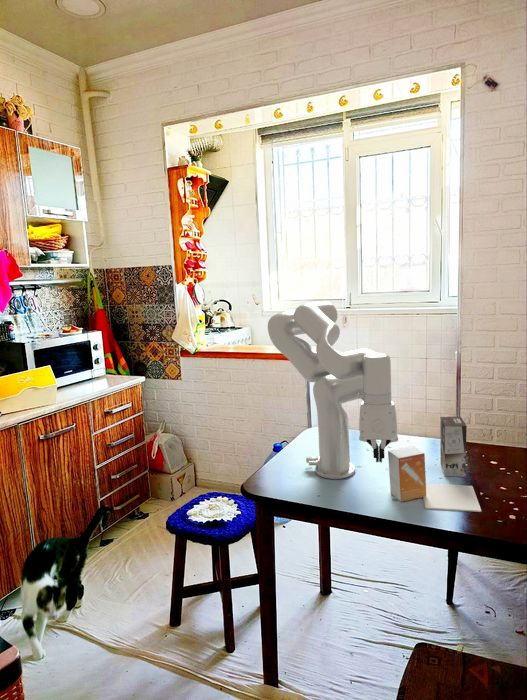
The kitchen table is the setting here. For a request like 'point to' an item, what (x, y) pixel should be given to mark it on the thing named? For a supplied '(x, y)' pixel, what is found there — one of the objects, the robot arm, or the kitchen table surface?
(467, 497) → the mat
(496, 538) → the kitchen table surface
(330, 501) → the kitchen table surface
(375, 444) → the robot arm
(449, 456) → the coffee box
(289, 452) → the kitchen table surface
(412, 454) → the small box
